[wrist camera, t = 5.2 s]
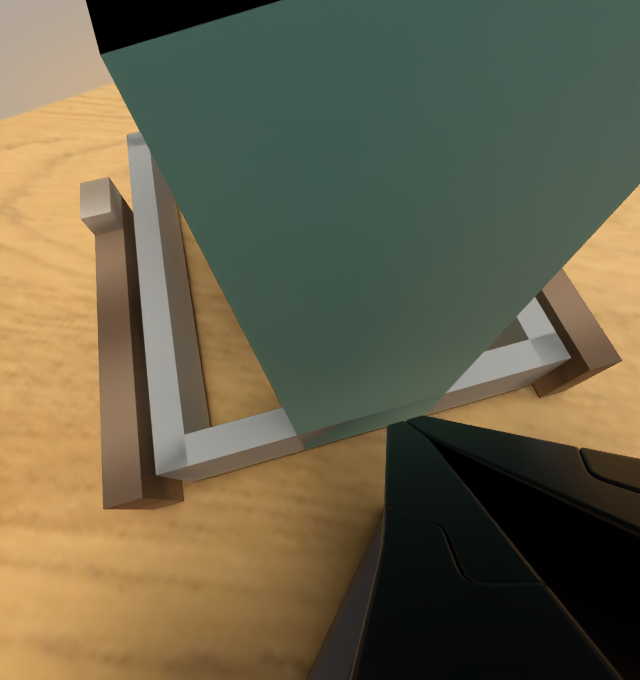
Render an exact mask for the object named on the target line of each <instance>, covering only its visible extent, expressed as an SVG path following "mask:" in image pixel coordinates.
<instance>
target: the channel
mask: <svg viewBox="0 0 640 680" xmlns="http://www.w3.org/2000/svg"><path fill="white" fill-rule="evenodd" d="M80 211H81V220H82V221H83V222H84V223H85V224H86V226H87V227H88V228H89V229H90V230H91V231H92V232H93V234H94V235H95V251H96V284H97V317H98V350H99V383H100V416H101V449H102V482H103V509H150V510H153V509H157V508H160V507H164V506H167V505H171V504H174V503H178V502H181V501H184V499H183V490H182V481H181V480H178V479H173V478H168V477H163V476H158V475H156V469H155V457H154V446H153V434H152V423H151V411H150V400H149V388H148V376H147V365H146V353H145V342H144V330H143V319H142V307H141V295H140V284H139V272H138V261H137V249H136V238H135V226H134V214H133V212H132V210H131V209H130V207H129V206H128V204H127V203H126V202H125V200H124V199H123V197H122V196H121V194H120V193H119V191H118V190H117V188H116V187H115V185H114V184H113V182H112V181H111V179H110V178H109V177H107V178H102V179H98V180H93V181H89V182H84V183H80ZM535 298H536V299H537V301H538V303H539V304H540V306H541V308H542V309H543V311H544V313H545V314H546V316H547V318H548V319H549V321H550V323H551V325H552V326H553V328H554V330H555V331H556V333H557V335H558V336H559V338H560V340H561V341H562V343H563V345H564V347H565V348H566V350H567V352H568V353H569V355H570V357H571V358H570V359H569V360H567V361H566V362H564V363H563V364H561V365H560V366H558V367H556V368H555V369H553V370H552V371H550V372H549V373H547V374H546V375H544V376H543V377H541V378H540V379H538V380H536V381H535V382H533V383H532V384H533V386H534V388H535V389H536V391H537V393H538V395H539V397H540V398H541V397H544V396H548V395H551V394H555V393H558V392H562V391H565V390H567V389H569V388H571V387H573V386H575V385H577V384H579V383H581V382H583V381H585V380H587V379H588V378H590V377H592V376H594V375H596V374H598V373H600V372H602V371H604V370H606V369H607V368H609V367H611V366H613V365H615V364H617V363H619V362H621V361H622V359H621V358H620V356H619V355H618V353H617V352H616V350H615V348H614V347H613V345H612V344H611V342H610V341H609V339H608V338H607V336H606V335H605V333H604V332H603V330H602V329H601V327H600V325H599V324H598V322H597V321H596V319H595V318H594V316H593V315H592V313H591V312H590V310H589V309H588V307H587V305H586V304H585V302H584V301H583V299H582V298H581V296H580V295H579V293H578V292H577V290H576V289H575V287H574V285H573V284H572V282H571V281H570V279H569V278H568V276H567V275H566V273H565V272H564V270H563V269H562V268H561V269H560V270H559V271H558V273H557V274H556V275H555V276H554V277H553V278H552V279H551V280H550V281H549V282H548V283H547V284H546V285H545V287H544V288H543V289H542V290H541V291H540V292H539V293H538V294H537V295H536V296H535Z"/></svg>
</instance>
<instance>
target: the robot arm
mask: <svg viewBox="0 0 640 680" xmlns="http://www.w3.org/2000/svg"><path fill="white" fill-rule="evenodd" d="M350 680H640V459H638V458H633V457H628V456H623V455H617V454H612V453H607V452H602V451H597V450H592V449H587V448H581V449H580V451H579V449H578V448H577V447H574V446H569V445H564V444H559V443H554V442H549V441H545V440H540V439H535V438H530V437H525V436H520V435H515V434H511V433H506V432H501V431H496V430H491V429H486V428H481V427H477V426H472V425H467V424H462V423H457V422H452V421H447V420H443V419H438V418H433V417H428V416H418V417H414V418H411V419H408V420H407V421H406V422H405V421H400V422H397V423H393V424H390V425H388V427H387V444H386V470H385V495H384V510H383V528H382V538H381V546H380V552H379V557H378V562H377V568H376V572H375V576H374V581H373V585H372V589H371V593H370V597H369V601H368V606H367V610H366V614H365V618H364V622H363V626H362V631H361V635H360V639H359V643H358V647H357V651H356V656H355V660H354V664H353V668H352V672H351V676H350Z"/></svg>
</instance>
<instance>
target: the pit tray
mask: <svg viewBox="0 0 640 680" xmlns="http://www.w3.org/2000/svg"><path fill="white" fill-rule="evenodd" d="M382 528H383V515H382V517H381V519H380V521H379V523H378V525H377V528H376V530H375V532H374V534H373V536H372V538H371V541H370V543H369V545H368V547H367V549H366V551H365V554H364V556H363V558H362V560H361V562H360V564H359V567H358V569H357V571H356V573H355V575H354V577H353V580H352V582H351V584H350V586H349V588H348V590H347V593H346V595H345V597H344V599H343V601H342V603H341V606H340V608H339V610H338V612H337V614H336V616H335V619H334V621H333V623H332V625H331V627H330V629H329V632H328V634H327V636H326V638H325V640H324V642H323V645H322V647H321V649H320V651H319V653H318V655H317V658H316V660H315V662H314V664H313V666H312V668H311V671H310V673H309V675H308V677H307V679H306V680H350V676H351V672H352V668H353V664H354V660H355V656H356V651H357V647H358V643H359V639H360V635H361V631H362V626H363V622H364V618H365V614H366V610H367V606H368V601H369V597H370V593H371V589H372V585H373V581H374V576H375V572H376V568H377V562H378V557H379V552H380V546H381V538H382Z"/></svg>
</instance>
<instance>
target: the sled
mask: <svg viewBox="0 0 640 680" xmlns="http://www.w3.org/2000/svg"><path fill="white" fill-rule="evenodd" d="M86 3H87V7H88V10H89V14H90V18H91V22H92V25H93V29H94V33H95V37H96V40H97V44H98V48H99V52H100V55H101V57H102V59H103V61H104V63H105V65H106V67H107V69H108V70H109V73H110V75H111V76H112V78H113V80H114V82H115V84H116V86H117V88H118V90H119V92H120V94H121V96H122V98H123V100H124V102H125V104H126V105H127V107H128V109H129V111H130V113H131V115H132V117H133V119H134V121H135V123H136V125H137V127H138V129H139V131H140V132H136V133H131V134H127V145H128V156H129V168H130V180H131V191H132V203H133V214H134V226H135V238H136V249H137V261H138V272H139V284H140V295H141V307H142V319H143V330H144V342H145V353H146V365H147V376H148V388H149V400H150V411H151V423H152V434H153V446H154V457H155V469H156V475H158V476H163V477H168V478H173V479H178V480H183V481H188V482H195V481H198V480H202V479H205V478H209V477H212V476H216V475H219V474H222V473H226V472H229V471H233V470H236V469H240V468H243V467H247V466H250V465H254V464H257V463H261V462H264V461H268V460H271V459H275V458H278V457H282V456H285V455H289V454H292V453H296V452H299V451H303V450H306V449H310V448H313V447H317V446H320V445H324V444H327V443H331V442H334V441H338V440H341V439H345V438H348V437H352V436H355V435H359V434H362V433H366V432H369V431H373V430H376V429H380V428H383V427H387V426H388V425H390V424H393V423H397V422H400V421H407V420H408V419H411V418H414V417H418V416H425V415H429V414H432V413H436V412H439V411H443V410H446V409H450V408H453V407H457V406H460V405H464V404H467V403H471V402H474V401H478V400H481V399H485V398H488V397H492V396H495V395H499V394H502V393H506V392H509V391H513V390H516V389H520V388H523V387H527V386H529V385H530V384H532V383H533V382H535V381H536V380H538V379H540V378H541V377H543V376H544V375H546V374H547V373H549V372H550V371H552V370H553V369H555V368H556V367H558V366H560V365H561V364H563V363H564V362H566V361H567V360H569V359H570V358H571V357H570V355H569V353H568V352H567V350H566V348H565V347H564V345H563V343H562V341H561V340H560V338H559V336H558V335H557V333H556V331H555V330H554V328H553V326H552V325H551V323H550V321H549V319H548V318H547V316H546V314H545V313H544V311H543V309H542V308H541V306H540V304H539V303H538V301H537V299H536V298H535V296H536V295H537V294H538V293H539V292H540V291H541V290H542V289H543V288H544V287H545V285H546V284H547V283H548V282H549V281H550V280H551V279H552V278H553V277H554V276H555V275H556V274H557V273H558V271H559V270H560V269H561V268H562V267H563V266H564V265H565V264H566V263H567V262H568V261H569V260H570V259H571V257H572V256H573V255H574V254H575V253H576V252H577V251H578V250H579V249H580V248H581V247H582V246H583V244H584V243H585V242H586V241H587V240H588V239H589V238H590V237H591V236H592V235H593V234H594V233H595V232H596V230H597V229H598V228H599V227H600V226H601V225H602V224H603V223H604V222H605V221H606V220H607V219H608V218H609V216H610V215H611V214H612V213H613V212H614V211H615V210H616V209H617V208H618V207H619V206H620V205H621V204H622V202H623V201H624V200H625V199H626V198H627V197H628V196H629V195H630V194H631V193H632V192H633V191H634V190H635V188H636V187H637V186H638V185H639V184H640V0H86ZM176 202H177V203H176ZM177 204H178V206H179V208H180V210H181V212H182V214H183V216H184V218H185V219H186V221H187V223H188V225H189V227H190V229H191V231H192V233H193V235H194V237H195V239H196V241H197V243H198V245H199V247H200V248H201V250H202V252H203V254H204V256H205V258H206V260H207V262H208V264H209V266H210V268H211V270H212V272H213V274H214V275H215V277H216V279H217V281H218V283H219V285H220V287H221V289H222V291H223V293H224V295H225V297H226V299H227V301H228V303H229V304H230V306H231V308H232V310H233V312H234V314H235V316H236V318H237V320H238V322H239V324H240V326H241V328H242V330H243V332H244V333H245V335H246V337H247V339H248V341H249V343H250V345H251V347H252V349H253V351H254V353H255V355H256V357H257V359H258V361H259V362H260V364H261V366H262V368H263V370H264V372H265V374H266V376H267V378H268V380H269V382H270V384H271V386H272V388H273V389H274V391H275V393H276V395H277V397H278V399H279V401H280V403H281V405H282V407H283V408H279V409H275V410H272V411H268V412H265V413H261V414H257V415H254V416H250V417H246V418H243V419H239V420H236V421H232V422H228V423H225V424H221V425H217V426H214V427H210V422H209V416H208V409H207V402H206V396H205V389H204V382H203V376H202V369H201V362H200V356H199V349H198V343H197V336H196V329H195V323H194V316H193V309H192V303H191V296H190V289H189V283H188V276H187V269H186V263H185V256H184V250H183V243H182V236H181V230H180V223H179V216H178V210H177ZM484 351H485V352H484Z"/></svg>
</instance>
